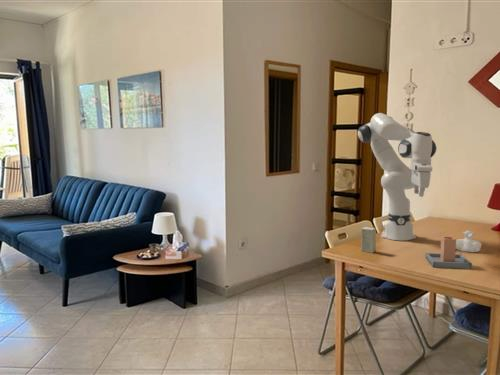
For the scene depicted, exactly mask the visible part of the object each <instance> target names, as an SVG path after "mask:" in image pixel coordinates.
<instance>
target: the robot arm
mask: <svg viewBox="0 0 500 375" xmlns="http://www.w3.org/2000/svg"><path fill="white" fill-rule="evenodd" d="M357 136H358V139H359V140H360V141H361V143H364V144H368V143H370V147H371V152H372V153H373V155H374V158H376V161H377V162H378V164H379V166H380V168H381V169H382V170H383V171H385V172H386V173H384V174H383V175H382V176H381V179H380V185H381V187H382V188H383V189H384V190H385V192H386V194H387V197H388V202H389V203H388V204H389V205H388V207H389V210H388V211H389V212H388V215H387V219H388V220H387V222H386V223H385V224H383V231H382V233H381V238H382V239H388V240H391V241H392V240H393V241H400V242H401V241H403V242H404V241H411V240H415V239H417V237H416V236H415V235H414V224H413V223H412V222H411V201H410V199H409V198H408V197H407V195H406V193H405V190H411V189H414V190H413V192H414V194H418V196H419V197H421V198H423V197H424V195H425V194H424V193H425V190H426V189H428V188H429V186H430V183H431V182H430V181H431V175H432V173H431V172H433V166H432V157H434V156H435V154H436V152H437V144H436V142H435V141H434V140H433V138H432V134H430V133H429V132H425V131H414V130H411V128H408V127H406V126H405V125H403V124H401V123H399V122H397V121H396V120H395V119H394V118H393V117H391V116H389V115H387V114H385V113H383V112H378V113H375V114H374V115H373V116H372V117H371V119H370V122H368V123H366V124H363V125H361V126H359V128H358V129H357ZM390 141H397V142H398V141H400V142H399V144H398V147H397V151H398V154H399V156H400V157H401V158H404V159H411V160H410V168H409V166H408V165H407V164H405V162H403V160H401V158H400V157H399V156H398V154H397V153H396V150H395V149H394V148H393V146H392V144H391V143H390Z"/></svg>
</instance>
